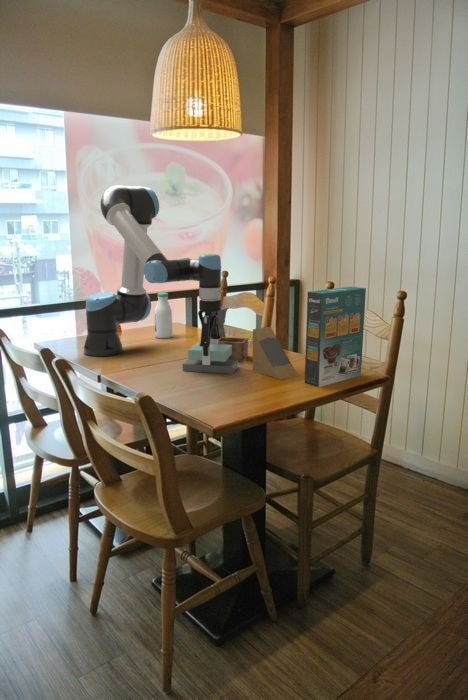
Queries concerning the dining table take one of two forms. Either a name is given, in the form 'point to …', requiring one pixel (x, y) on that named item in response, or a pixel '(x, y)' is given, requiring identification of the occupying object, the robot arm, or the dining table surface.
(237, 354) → the crate
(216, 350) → the lid
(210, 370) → the board
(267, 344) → the sandwich container
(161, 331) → the milk bottle
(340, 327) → the cake mix box
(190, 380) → the dining table surface
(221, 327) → the coffeepot
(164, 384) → the dining table surface
